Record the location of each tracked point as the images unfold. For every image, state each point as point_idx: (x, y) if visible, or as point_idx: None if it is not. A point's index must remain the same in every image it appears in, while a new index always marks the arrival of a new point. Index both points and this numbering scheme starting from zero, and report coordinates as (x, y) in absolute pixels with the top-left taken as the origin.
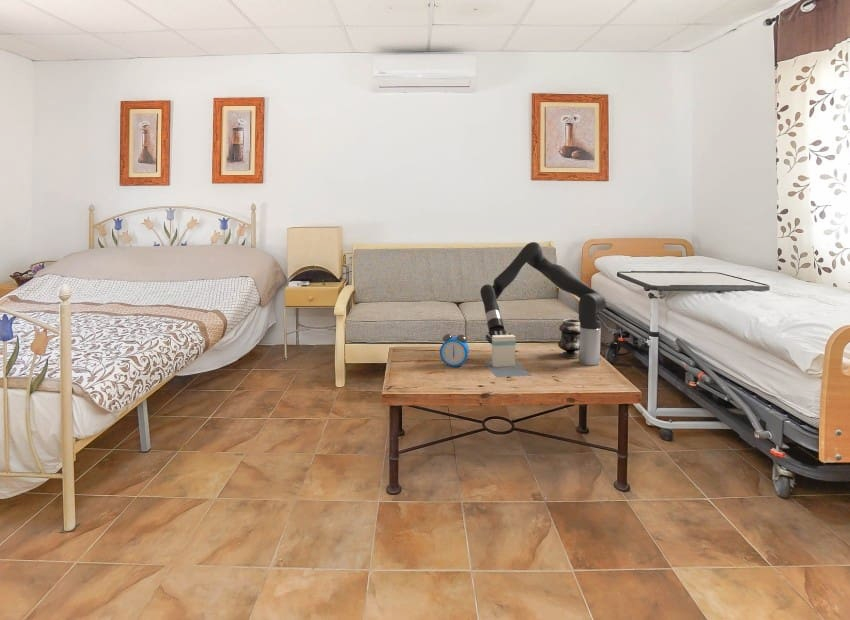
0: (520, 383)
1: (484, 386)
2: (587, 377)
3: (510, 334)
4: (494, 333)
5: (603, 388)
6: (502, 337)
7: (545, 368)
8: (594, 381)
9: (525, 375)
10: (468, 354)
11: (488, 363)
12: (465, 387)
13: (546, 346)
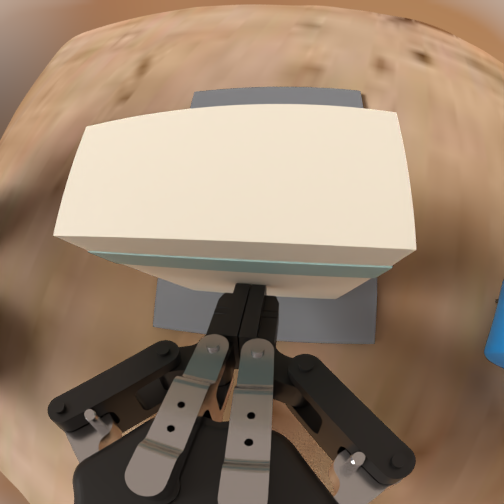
0: (279, 43)
1: (410, 50)
2: (58, 99)
3: (54, 404)
4: (268, 491)
5: (95, 38)
6: (264, 108)
7: None
8: (71, 73)
9: (223, 90)
10: (497, 333)
11: (347, 328)
12: (464, 65)
13: (4, 470)
